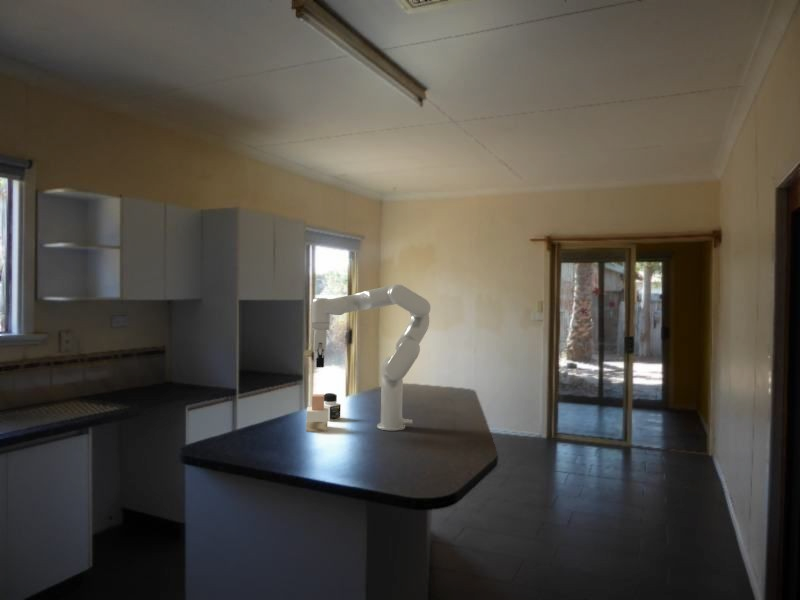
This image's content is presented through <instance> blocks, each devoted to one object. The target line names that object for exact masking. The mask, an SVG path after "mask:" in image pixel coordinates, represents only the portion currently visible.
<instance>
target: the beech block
mask: <svg viewBox="0 0 800 600" xmlns="http://www.w3.org/2000/svg"><path fill="white" fill-rule="evenodd" d="M328 422H329V421H328ZM328 422H307V419H306V422H305V423H306V424H305V432H306V433H313V432H315V433H317V432H319V433H321V432H325V433H326V432H328Z"/></svg>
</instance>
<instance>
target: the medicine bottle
mask: <svg viewBox="0 0 800 600" xmlns="http://www.w3.org/2000/svg"><path fill="white" fill-rule="evenodd" d="M323 394H324V393H323ZM337 397H338V396H337V394H336V393H335V392H334V393H333V392H332V393H331V392H329V393H328V392H327V393H325V394H324V407H328V422H332V421H333V422H334V421H337V420H340V419H341V403H337V400H338V398H337Z"/></svg>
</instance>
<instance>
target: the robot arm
mask: <svg viewBox="0 0 800 600" xmlns="http://www.w3.org/2000/svg"><path fill="white" fill-rule="evenodd" d="M394 305H397V306H399V307H401V308H402V309H403V310H405V311H407V312H409V314H410V321H409V323H408V326H406V329H405V330H404V332H403V333H402V335H400V338H399V339H398V341H397V342H396V344H395V351H394V353H393V354H392V355H391V356H388V357H386V358H385V359H383V361H382V363H381V365H380V378H381V379H380V380H381V388H380V391H381V392H380V422H379V423H377V425H376V428H377V429H379V430H382V431H388V432H389V431H391V432H392V431H393V432H396V431H402V430H405V429H406V425H413V419H409V418H404V417H403V393H404V391H403V389H404V388H403V387H404V382H403V381H404V378H405V377H406V375H407V374H408V372H409V371H410V370H411V368H412V367H413V365H414V364H415V361H416V360H417V359H418V357H419V355H420V352H421V346H420V343H421V342H422V340H423V338H424V337H425V335H426V333H427V332H428V329H429V327H430V312H431V304H430V302H429V301H428V299H427V298H424V297H423V296H421V295H419V294H418V293H416V292H415V291H412V290H411V289H410V288H407V287H406V286H404V285H403V284H393V285H388V286H382V287H379V288H373V289H368V290H363V291H362V292H358V293H354V294H350V295H346V296H340V297H335V298H326V297H325V298H324V297H317V298H316V297H315V298H313V299H312V305H311V306H312V308H311V309H312V311H311V312H312V313H311V315H312V317H311V320H312V321H311V324H312V325H311V330H313V332H314V333H313V353H314V354H315V353H316V362H315V363H316V364H315V367H316V368H324V366H325V354H324V353H326V349H327V334H328V333H327V332H328V331H330V325H331V324H330V321H331V320H330V317H331V316H330V315H333V316H334V315H335V316H342V315H344V314H346V313H351V312H352V313H353V312H357V311H363V310H364V311H369V310H374V309H381V308H383V307H388V306H394Z"/></svg>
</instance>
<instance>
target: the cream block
mask: <svg viewBox="0 0 800 600" xmlns="http://www.w3.org/2000/svg"><path fill="white" fill-rule="evenodd" d="M306 420H307V422H329V421H328V407H324V410H312V406H307V407H306Z"/></svg>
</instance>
